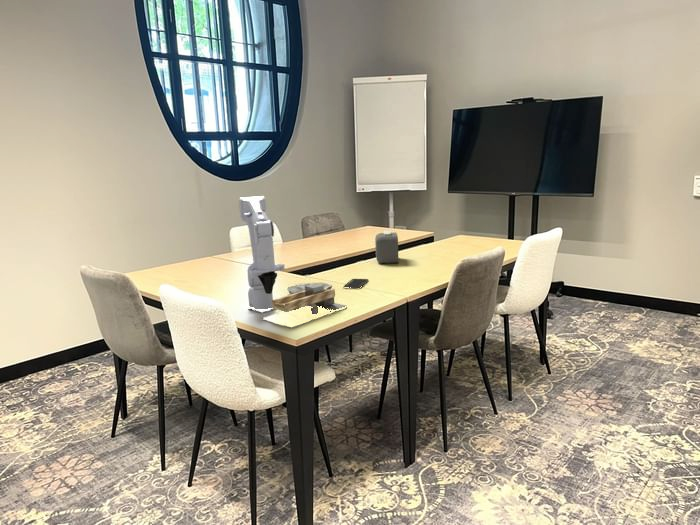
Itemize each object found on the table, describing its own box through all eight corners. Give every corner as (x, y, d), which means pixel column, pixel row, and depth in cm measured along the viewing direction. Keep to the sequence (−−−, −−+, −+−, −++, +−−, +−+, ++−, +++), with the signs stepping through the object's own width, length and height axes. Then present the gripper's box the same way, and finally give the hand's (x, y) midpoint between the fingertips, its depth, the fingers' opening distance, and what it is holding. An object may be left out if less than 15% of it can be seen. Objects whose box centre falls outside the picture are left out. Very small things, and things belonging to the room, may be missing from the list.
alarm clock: (398, 264, 271) (397, 234, 268) (376, 265, 272) (375, 235, 268) (396, 257, 287) (395, 229, 284) (375, 258, 288) (374, 230, 284)
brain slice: (309, 286, 235) (309, 280, 234) (338, 291, 224) (337, 285, 223) (277, 297, 220) (276, 290, 219) (306, 303, 209) (305, 296, 209)
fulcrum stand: (291, 328, 179) (290, 319, 178) (261, 320, 190) (261, 311, 189) (346, 308, 199) (346, 299, 198) (317, 301, 210) (317, 293, 209)
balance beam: (291, 321, 181) (290, 304, 180) (269, 315, 189) (268, 299, 188) (339, 304, 199) (338, 289, 197) (317, 300, 206) (316, 285, 205)
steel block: (313, 298, 193) (313, 288, 192) (305, 296, 197) (304, 286, 196) (324, 295, 197) (323, 285, 196) (315, 293, 200) (315, 283, 199)
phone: (342, 286, 228) (352, 278, 242) (342, 289, 228) (352, 280, 242) (360, 287, 225) (369, 279, 239) (360, 289, 226) (369, 281, 240)
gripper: (256, 260, 175) (259, 299, 178) (289, 253, 185) (291, 290, 188) (243, 258, 179) (246, 296, 182) (276, 251, 190) (279, 287, 193)
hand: (268, 293), depth 185 cm, fingers closed
